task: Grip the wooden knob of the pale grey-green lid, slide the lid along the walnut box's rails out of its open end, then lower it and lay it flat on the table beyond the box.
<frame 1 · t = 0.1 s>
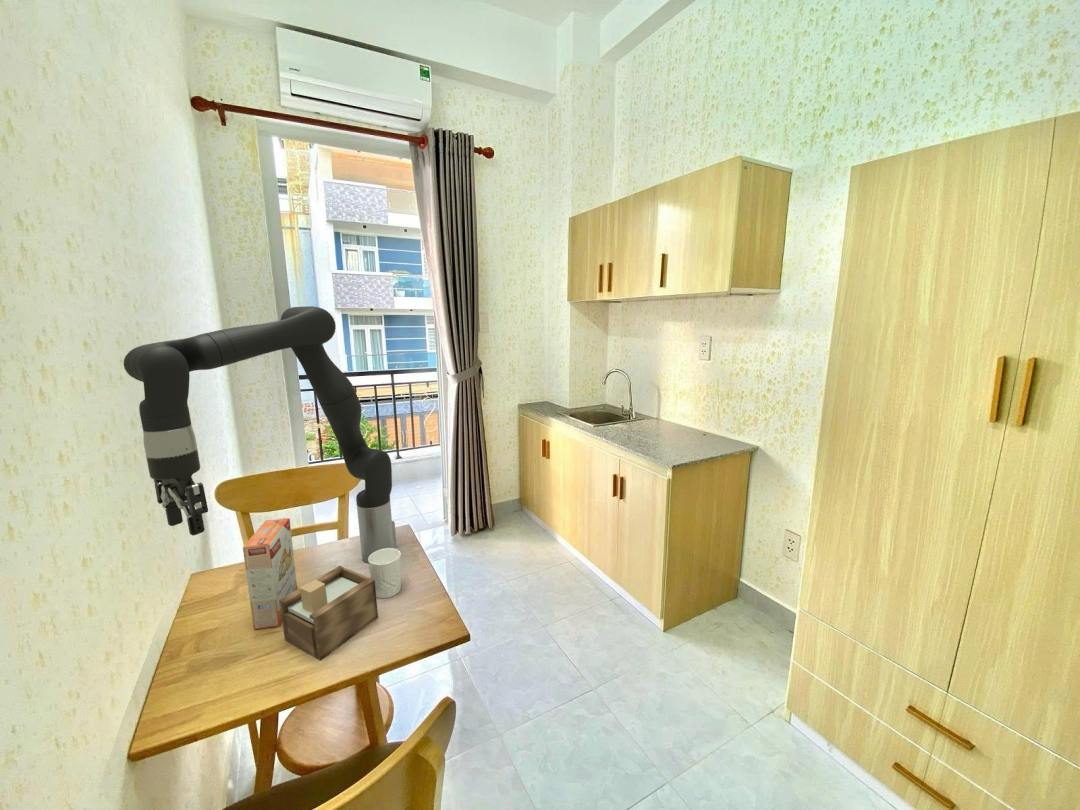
hand: (186, 528, 86), 29 cm above the table, fingers open, 8 cm apart
lid: (330, 601, 98), point 7 cm above the table, touching walnut box
white cup: (387, 591, 113), on the table
walnut box: (333, 628, 99), on the table
cracker box: (278, 610, 106), on the table
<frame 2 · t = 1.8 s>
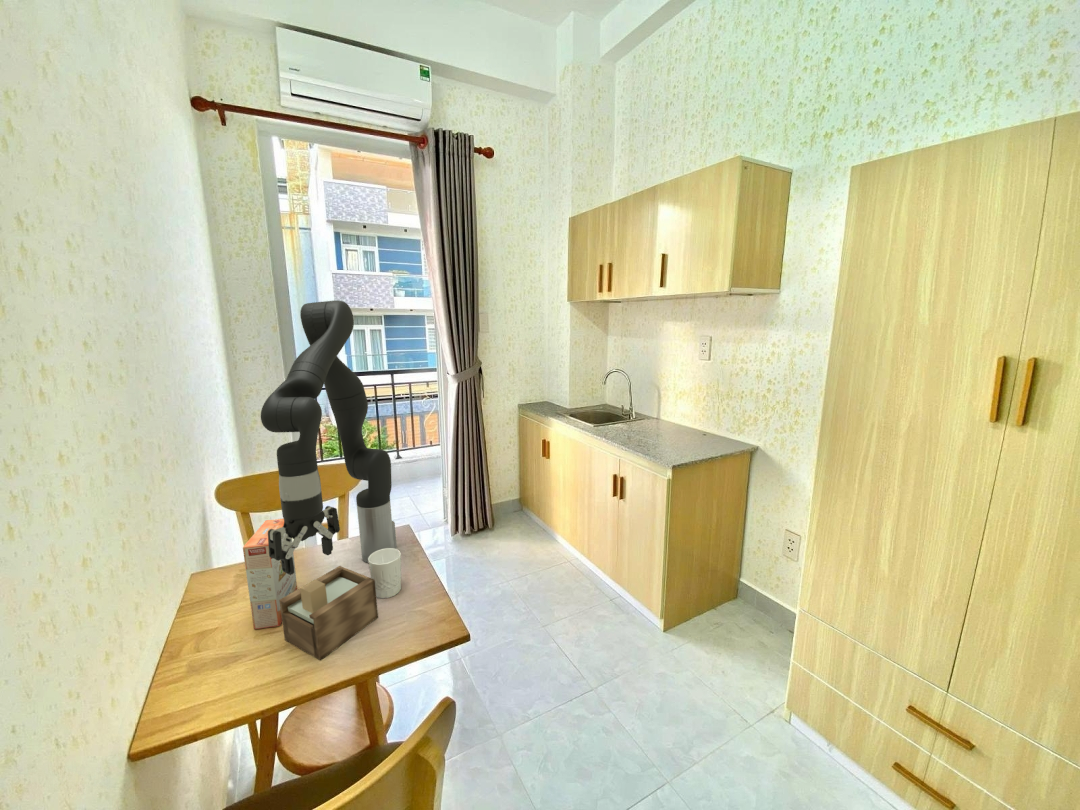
hand: (309, 563, 93), 18 cm above the table, fingers open, 8 cm apart
nothing on the table moved.
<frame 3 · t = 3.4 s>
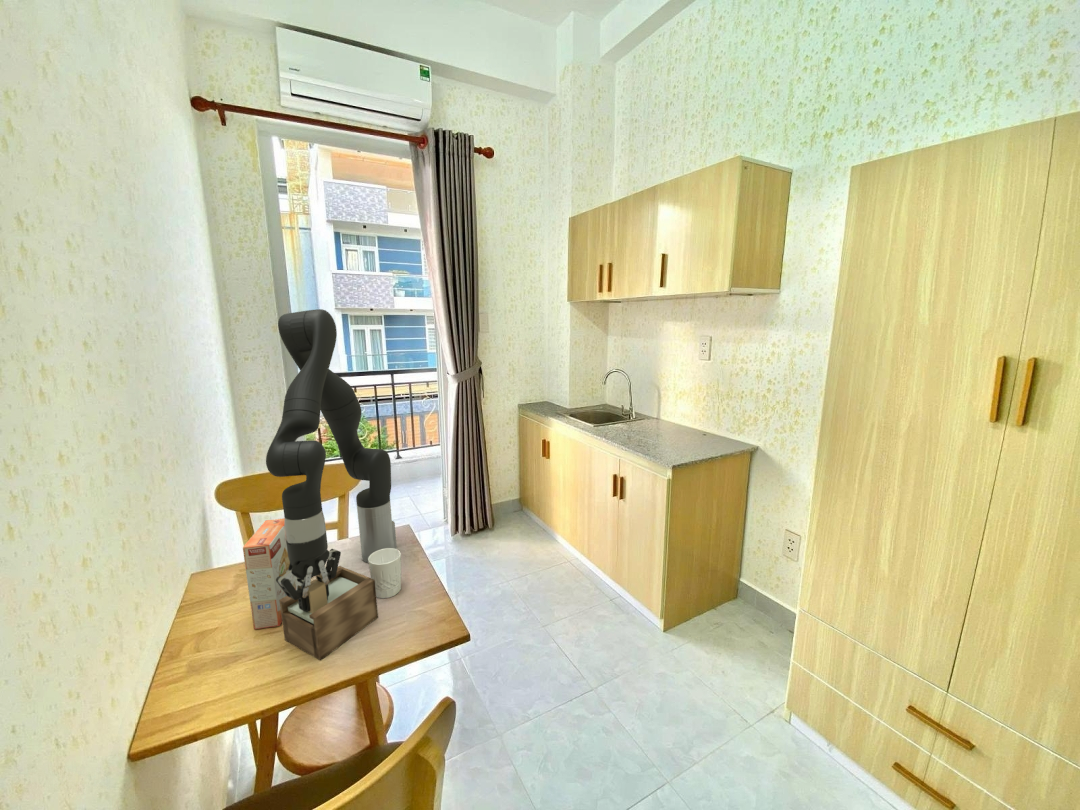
hand: (314, 604, 94), 8 cm above the table, fingers closed on lid, 3 cm apart
lid: (330, 601, 98), point 7 cm above the table, touching gripper, walnut box
everything else where it was.
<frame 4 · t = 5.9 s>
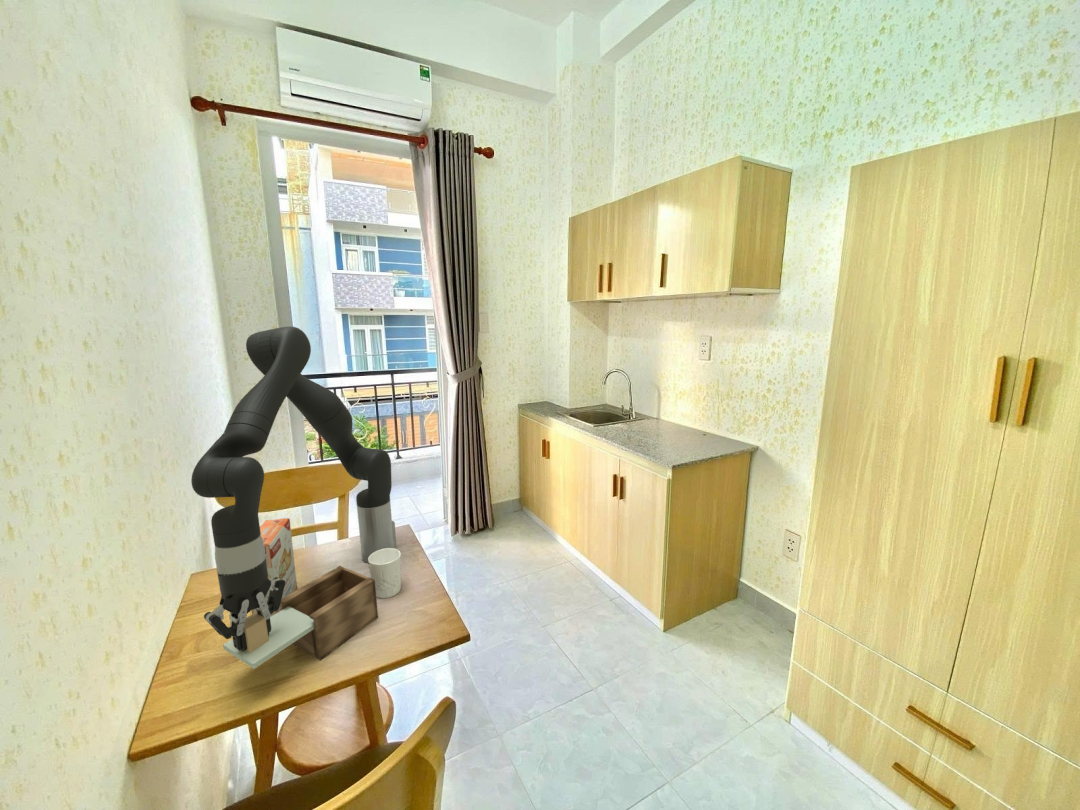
hand: (253, 641, 83), 9 cm above the table, fingers closed on lid, 3 cm apart
lid: (273, 636, 87), point 7 cm above the table, touching gripper
everything else where it was.
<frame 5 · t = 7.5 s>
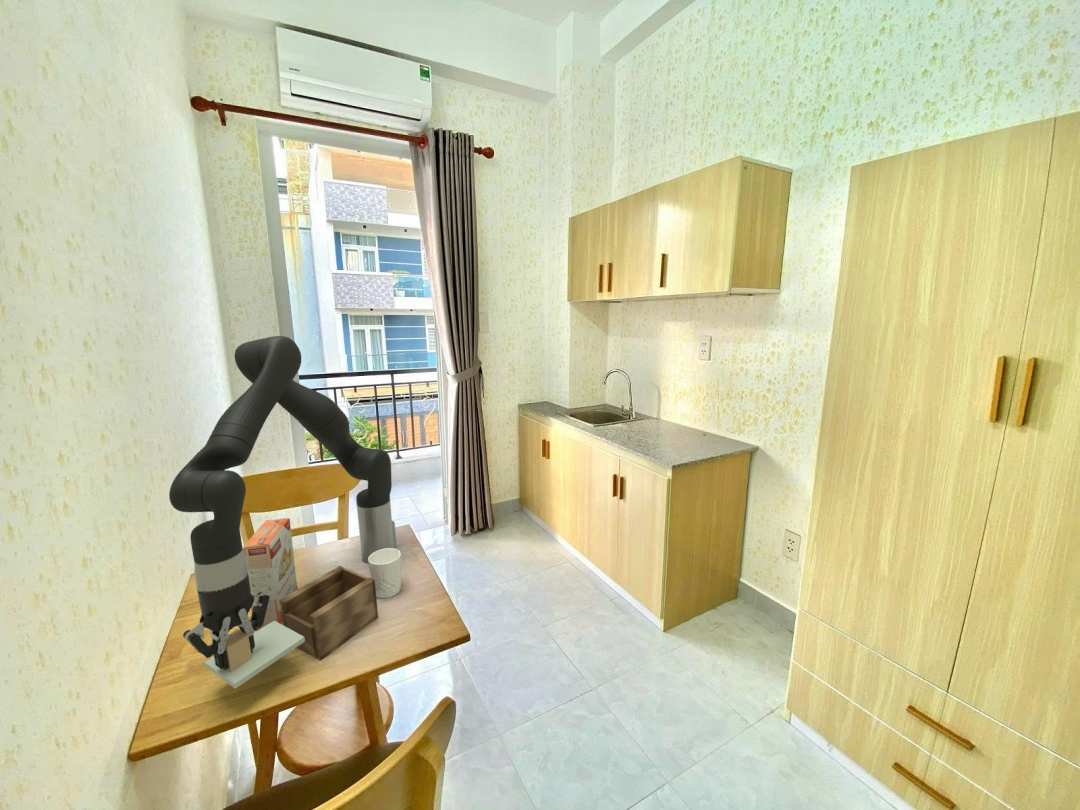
hand: (236, 659, 81), 7 cm above the table, fingers closed on lid, 3 cm apart
lid: (257, 653, 84), point 6 cm above the table, touching gripper
everything else where it was.
when the fingers open (2 cm above the table, at t = 8.5 s): lid drops 1 cm, on the table.
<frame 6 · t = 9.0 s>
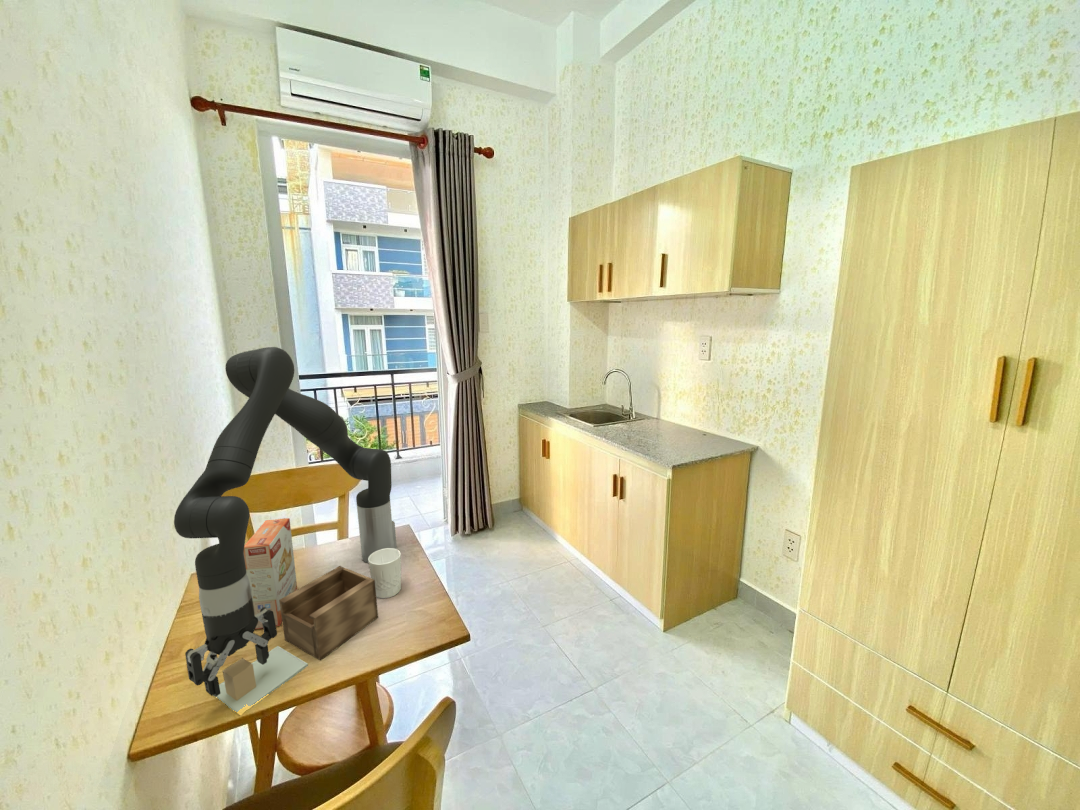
hand: (239, 677, 82), 3 cm above the table, fingers open, 8 cm apart
lid: (261, 681, 85), on the table
everything else where it was.
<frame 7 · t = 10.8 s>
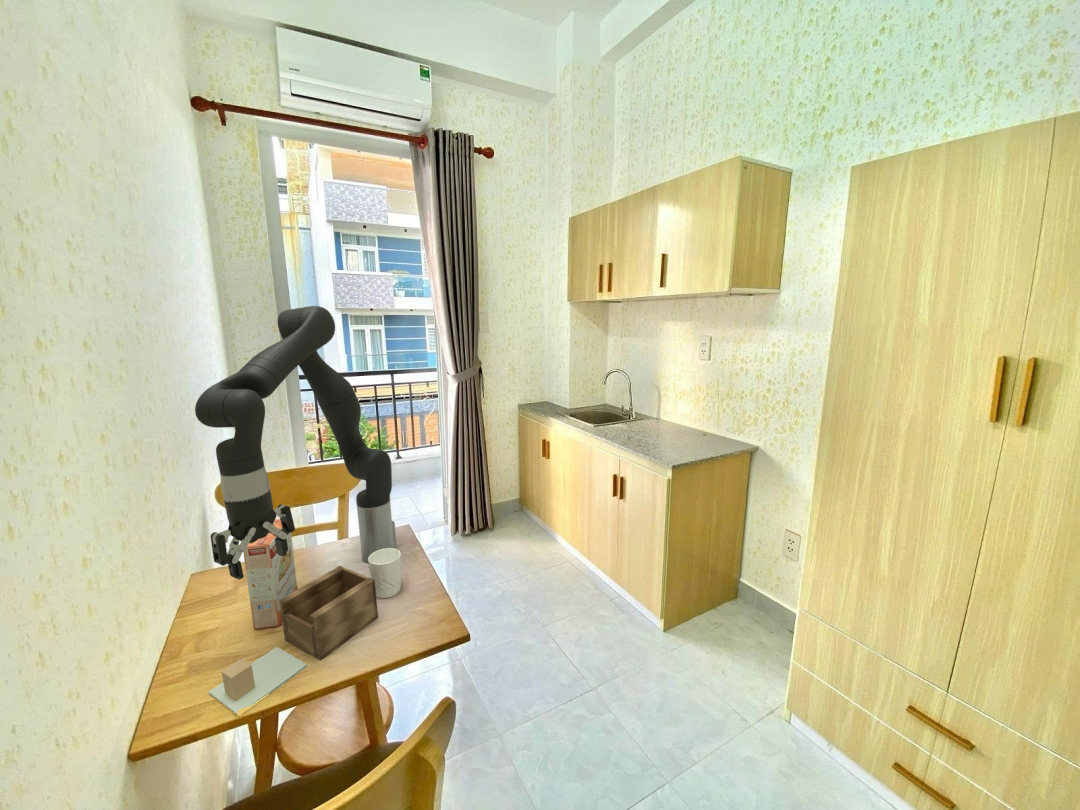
hand: (261, 566, 87), 21 cm above the table, fingers open, 8 cm apart
nothing on the table moved.
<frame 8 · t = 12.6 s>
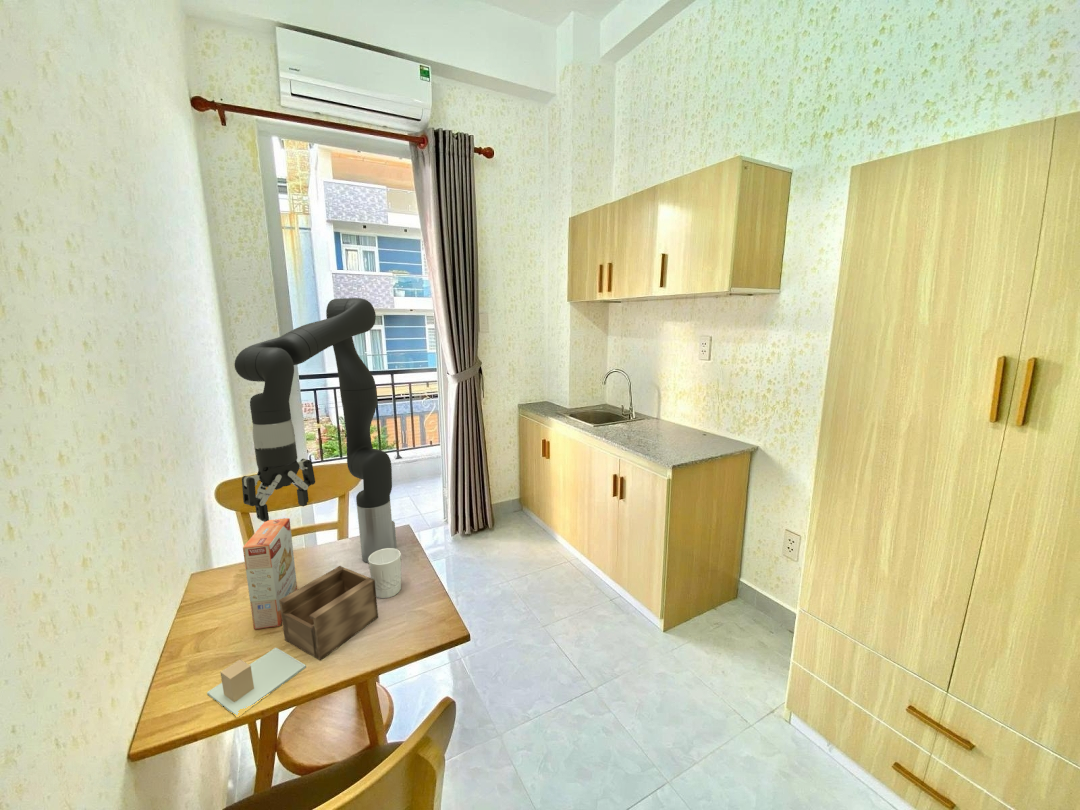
hand: (284, 512, 95), 28 cm above the table, fingers open, 8 cm apart
nothing on the table moved.
at the end: lid inside the target area (1.0 cm from its centre), on the table; lid tilted 0°; the gripper is holding nothing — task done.
